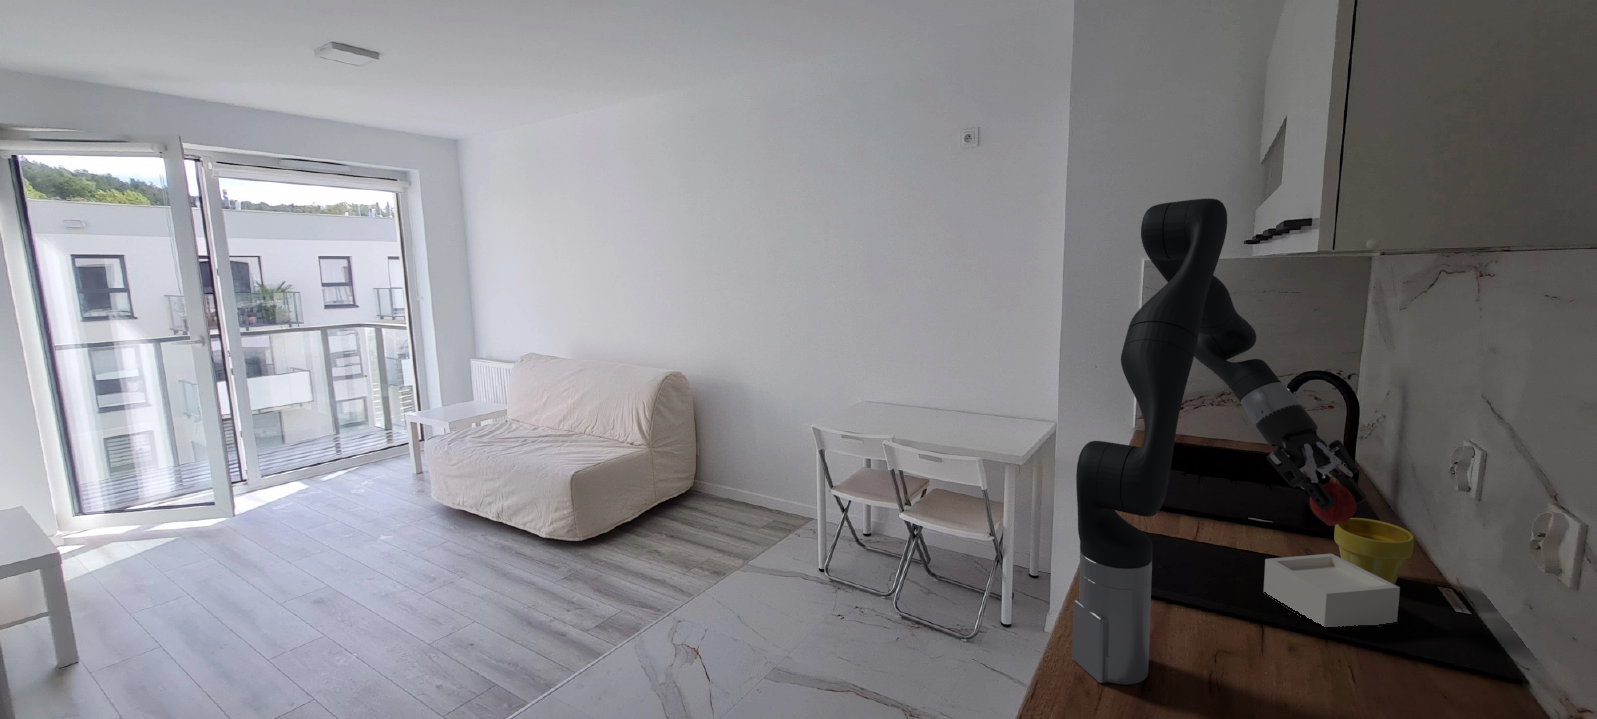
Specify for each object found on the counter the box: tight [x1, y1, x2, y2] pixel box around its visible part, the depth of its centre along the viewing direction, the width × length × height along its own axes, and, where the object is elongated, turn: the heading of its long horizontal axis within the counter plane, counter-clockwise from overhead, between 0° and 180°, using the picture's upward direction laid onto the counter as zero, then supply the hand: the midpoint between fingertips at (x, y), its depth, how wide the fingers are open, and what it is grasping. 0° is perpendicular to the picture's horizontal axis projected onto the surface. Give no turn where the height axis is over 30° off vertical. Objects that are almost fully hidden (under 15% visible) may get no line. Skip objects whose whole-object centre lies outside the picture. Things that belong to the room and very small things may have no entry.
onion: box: [1309, 477, 1357, 527], centre depth 104 cm, size 6×6×8 cm
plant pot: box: [1333, 517, 1415, 585], centre depth 113 cm, size 10×10×10 cm
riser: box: [1263, 553, 1401, 627], centre depth 106 cm, size 12×12×6 cm
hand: (1344, 504), depth 102 cm, fingers closed on onion, 5 cm apart
